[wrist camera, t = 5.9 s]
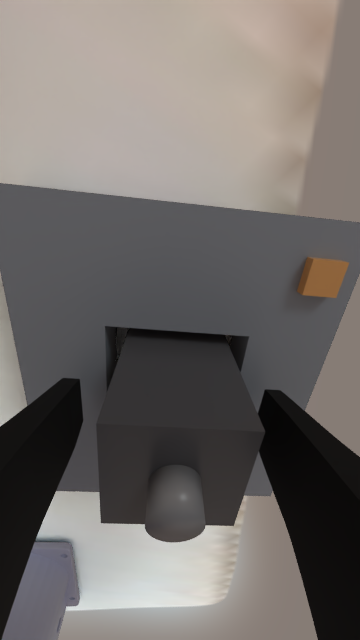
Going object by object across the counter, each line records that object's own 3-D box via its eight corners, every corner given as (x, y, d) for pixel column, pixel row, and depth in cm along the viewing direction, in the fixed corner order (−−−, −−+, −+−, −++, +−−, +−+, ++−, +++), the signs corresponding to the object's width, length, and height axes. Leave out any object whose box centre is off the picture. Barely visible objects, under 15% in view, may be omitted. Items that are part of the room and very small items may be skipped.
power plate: (258, 461, 15) (273, 504, 13) (60, 455, 14) (40, 498, 12) (339, 221, 10) (388, 225, 7) (21, 186, 9) (-29, 179, 7)
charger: (207, 392, 13) (242, 568, 7) (131, 388, 13) (91, 568, 6) (220, 324, 11) (282, 472, 5) (133, 317, 11) (81, 465, 5)
